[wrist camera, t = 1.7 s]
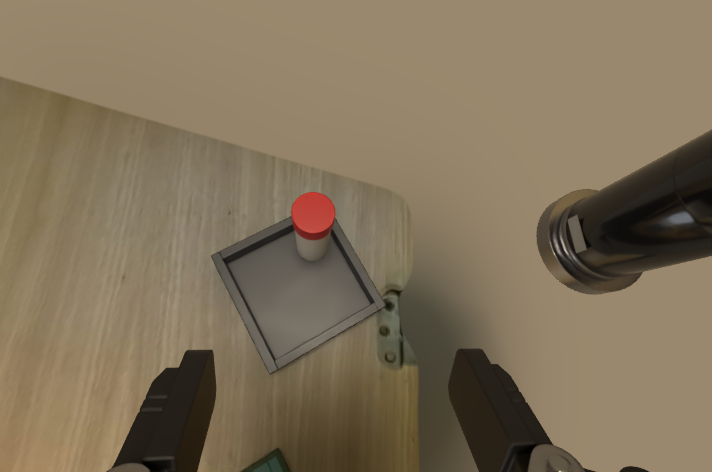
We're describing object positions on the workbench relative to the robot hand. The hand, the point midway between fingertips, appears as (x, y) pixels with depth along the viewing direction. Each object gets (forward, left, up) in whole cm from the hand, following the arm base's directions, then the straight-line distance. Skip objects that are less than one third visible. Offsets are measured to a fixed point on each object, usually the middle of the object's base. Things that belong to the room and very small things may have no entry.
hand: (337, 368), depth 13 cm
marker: (-4, -9, -23) cm, 26 cm away
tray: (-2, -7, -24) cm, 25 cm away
